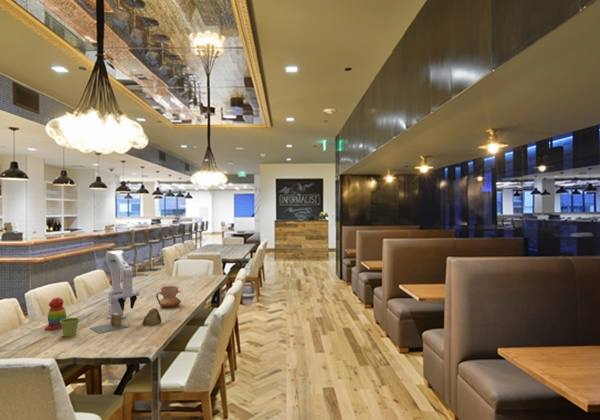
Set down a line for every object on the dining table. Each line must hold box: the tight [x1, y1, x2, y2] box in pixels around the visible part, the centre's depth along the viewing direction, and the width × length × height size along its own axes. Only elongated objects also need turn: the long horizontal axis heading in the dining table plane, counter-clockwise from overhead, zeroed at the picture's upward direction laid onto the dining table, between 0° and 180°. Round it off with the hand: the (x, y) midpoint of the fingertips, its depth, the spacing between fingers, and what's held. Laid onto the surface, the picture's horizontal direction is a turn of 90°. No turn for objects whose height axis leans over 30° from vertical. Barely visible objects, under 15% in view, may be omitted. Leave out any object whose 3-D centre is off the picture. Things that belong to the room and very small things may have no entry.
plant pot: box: [60, 317, 81, 338], centre depth 208 cm, size 9×9×9 cm
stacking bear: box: [44, 296, 67, 332], centre depth 223 cm, size 11×10×18 cm
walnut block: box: [110, 313, 122, 327], centre depth 225 cm, size 6×4×7 cm, turn 50°
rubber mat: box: [89, 322, 129, 334], centre depth 222 cm, size 14×16×1 cm
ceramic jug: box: [155, 285, 182, 309], centre depth 272 cm, size 18×14×14 cm
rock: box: [142, 307, 162, 326], centre depth 231 cm, size 11×9×10 cm
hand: (127, 309), depth 230 cm, fingers open, 5 cm apart
